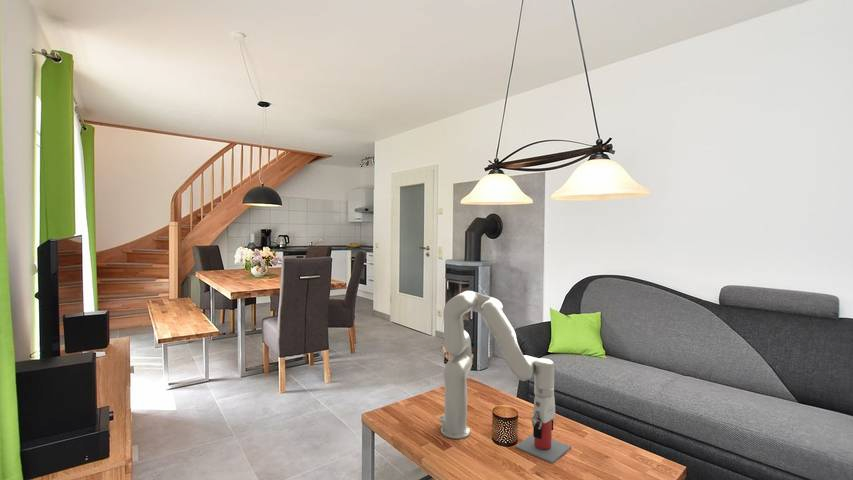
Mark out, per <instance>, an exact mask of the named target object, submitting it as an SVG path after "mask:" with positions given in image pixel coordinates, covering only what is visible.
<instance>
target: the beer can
mask: <svg viewBox="0 0 853 480" xmlns="http://www.w3.org/2000/svg"><path fill="white" fill-rule="evenodd" d="M538 420H540V419H538ZM539 423H540V422H537V424H538V425H539ZM541 429H542V438H541V439H538V438H536V437H534V444H535V446H536V447H537V448H539V449H543V450H547V449H550V448H551V440H552V439H553V438H552V433H553V432H552V431H553V430H552V421H551V420H550V421H548V422H547V423H545V424H544V423H542V425H541Z"/></svg>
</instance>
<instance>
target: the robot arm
mask: <svg viewBox="0 0 853 480" xmlns="http://www.w3.org/2000/svg"><path fill="white" fill-rule="evenodd" d="M503 310H504V306H503V304H502V302H501V301H500V300H499V299H498V298H495V297H492V296H489V295H486V294H482V293H479V292H476V291H474V290H465V291H463V292H460V293H458V294H457V295H455V296H453V297H452V298H450V299H449V300H448V301H447V302H446V303H445V305H444V308H443V311H442V312H443V314H442V315H443V334H444V335H443V336H444V349H445V350H446V353H447V354H448V355H450V357H451V358H450V359H449V360H448V361H447V362H446V364H445V366H444V369H443V381H444V415H443V414H441V415H440V416H439V419H438V422H439V423H441V424H442V425H441V427H440V433H441V435H442V436H444V437H447V438H449V439H454V440H455V439H458V440H460V439H464V438H468V437H469V436H470V435H471V429H470V427H469V426H468V425H467V423H468V421H467V419H468V418H467V417H468V410H467V409H468V386H467V385H468V383H467V376H468V373H470V371H471V369H472V366H473V357H472V354H473V353H472V340H471V336H470V335H469V333H468V331H466V330H465V327H464V326H465V325H464V319H463V316H464V315H465V314H467V313H469V312H471V311H472V312H475V313H478V314H480V315H481V318H482V320H483V321H484V323H485V325H486V326H487V328H488V329H489V330H490V332H491V334H492V335H493V337H494V338H495V341H496V343H497V345H498V348H499V350H500V352H501V355H502V357H503V359H504V361H505V363H506V364H507V366H508V368H509V369H510V371H511V372H512V374H513V376H515V378H516V379H518V380H519V381H522V382H525V381H528V380H530V379H532V377H533V375H534V385H533V387H534V391H533V394H534V400H533V401H534V402H533V411H532V412H533V413H532V414H533V415H532V417H531V423H532V424H531V425H532V427H533V430H532V431H533V432H532V434H533V436H534V437H536V438H538V439H541V438H542V429H541V425H542V423H544V424H545V423H547V422H548V421H550V420H551V421H552V431H554V420H555V417H556V401H555V400H556V399H555V362H554V361H553V360H551V359H549V358H545V357H544V358H543V357H542V358H540V357H539V358H538V357H534V356H530V355H527V354H526V355H524V354H523V352H522V351H521V348H520V345H519V343H518V339H517V334H516V331H515V329H514V327H513V326H512V324H511V322H510V321H509V319H508V317H507V316H506V314H505V313H504V311H503ZM538 419H540V420H538ZM537 422H540V423H539V425H538V424H537Z"/></svg>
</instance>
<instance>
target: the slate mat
mask: <svg viewBox="0 0 853 480" xmlns="http://www.w3.org/2000/svg"><path fill="white" fill-rule="evenodd" d="M514 448H515V449H517V450H520V451H521V452H525V453H526V454H528V455H532V456H534V457H536V458H538V459H541V460H543V461H545V462H548V463H550V464H554V463H556V462H557V461H558V460H559V459H560V458H562V456H563V455H565V454H566V453H567V452H568V451H569V450H571V449H572V446H571V445H569V444H566V443H564V442H562V441H559V440H557V439H553V438H552V440H551V448H550V449H547V450H543V449H539V448H537V447H536V446H535V444H534V436H533V433H532V434H530V435H529V436H528V437H526V438H525V439H523V440H522V441H520V442H519V443H517V444H516V445H515V446H514Z"/></svg>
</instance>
